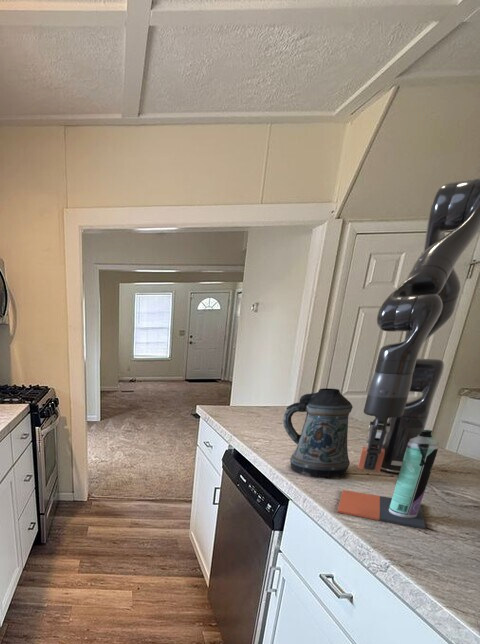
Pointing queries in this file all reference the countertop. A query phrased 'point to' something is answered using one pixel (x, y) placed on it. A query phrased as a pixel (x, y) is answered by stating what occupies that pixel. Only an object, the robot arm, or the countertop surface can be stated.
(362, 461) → the terracotta block
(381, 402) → the robot arm
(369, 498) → the sorting mat
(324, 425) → the beer stein
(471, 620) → the countertop surface
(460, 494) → the countertop surface
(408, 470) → the spray can
